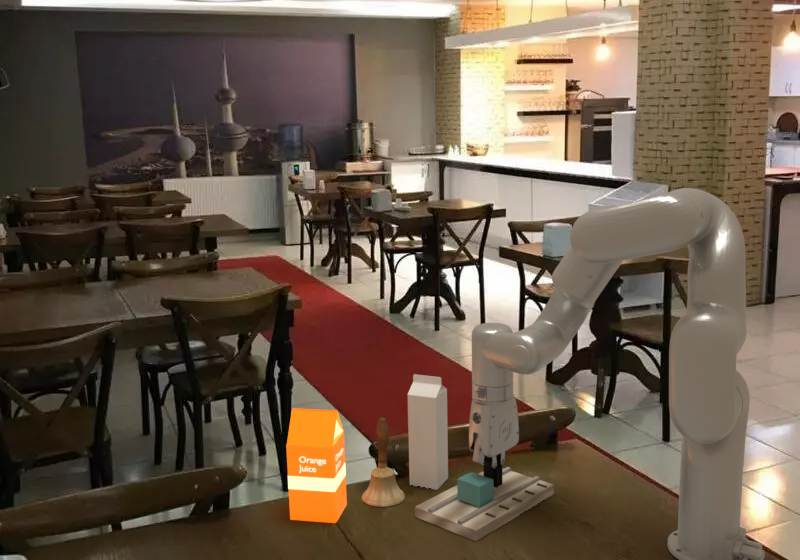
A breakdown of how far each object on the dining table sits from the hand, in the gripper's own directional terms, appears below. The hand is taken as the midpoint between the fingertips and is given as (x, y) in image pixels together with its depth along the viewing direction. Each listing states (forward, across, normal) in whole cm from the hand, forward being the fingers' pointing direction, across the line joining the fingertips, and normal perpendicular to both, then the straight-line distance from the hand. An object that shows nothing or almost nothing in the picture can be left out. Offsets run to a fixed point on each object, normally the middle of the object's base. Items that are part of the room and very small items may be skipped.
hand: (493, 484), depth 160 cm
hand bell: (+4, -12, +17) cm, 21 cm away
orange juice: (+4, -24, +22) cm, 33 cm away
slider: (+1, -5, 0) cm, 5 cm away
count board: (+4, -2, 0) cm, 4 cm away
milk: (+4, -1, +15) cm, 15 cm away
